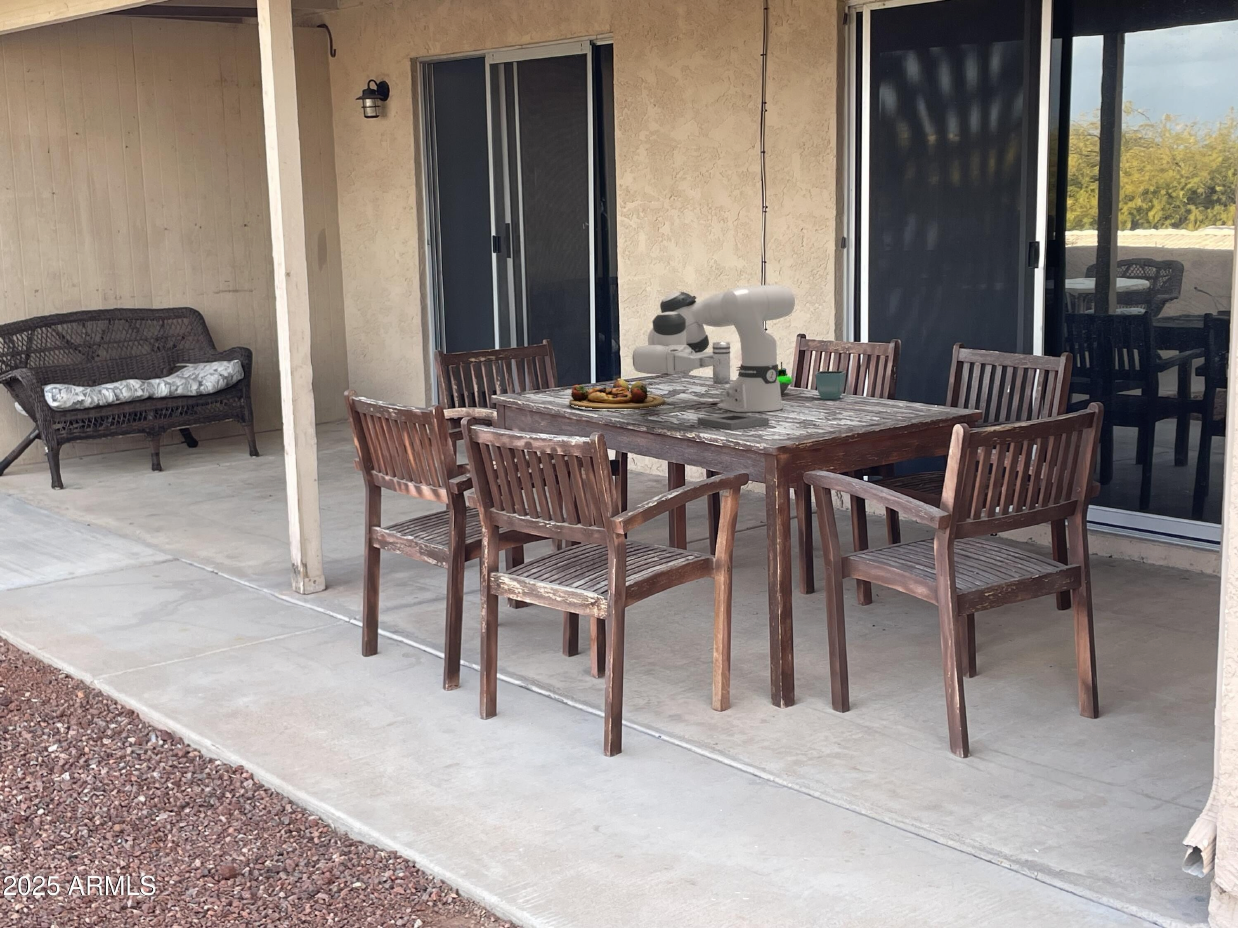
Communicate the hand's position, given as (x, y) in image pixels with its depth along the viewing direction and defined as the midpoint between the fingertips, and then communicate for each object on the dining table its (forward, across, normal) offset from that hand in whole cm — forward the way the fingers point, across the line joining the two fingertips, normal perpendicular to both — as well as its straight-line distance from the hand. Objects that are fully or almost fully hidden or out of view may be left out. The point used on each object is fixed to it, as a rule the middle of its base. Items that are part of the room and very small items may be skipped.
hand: (724, 361), depth 401 cm
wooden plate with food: (-56, -34, -19) cm, 68 cm away
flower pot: (+7, -66, -18) cm, 69 cm away
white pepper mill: (-1, 0, -7) cm, 7 cm away
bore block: (+1, -4, -19) cm, 19 cm away
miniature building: (-16, -73, -18) cm, 77 cm away
